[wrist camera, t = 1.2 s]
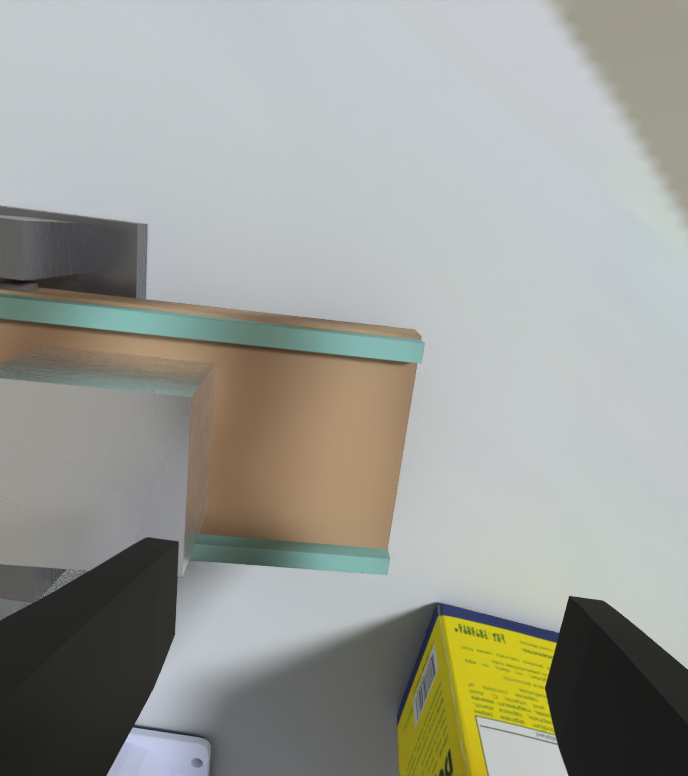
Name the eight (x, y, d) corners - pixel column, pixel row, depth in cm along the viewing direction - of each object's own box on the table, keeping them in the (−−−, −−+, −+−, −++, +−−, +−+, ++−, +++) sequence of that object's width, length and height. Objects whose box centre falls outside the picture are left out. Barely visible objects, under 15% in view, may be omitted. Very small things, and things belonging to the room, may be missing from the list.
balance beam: (415, 323, 18) (426, 333, 16) (379, 552, 20) (385, 582, 18) (-329, 239, 16) (-407, 240, 14) (-278, 501, 18) (-340, 529, 17)
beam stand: (147, 224, 19) (84, 220, 15) (139, 546, 22) (86, 615, 18) (3, 206, 19) (-99, 197, 15) (17, 529, 22) (-64, 594, 18)
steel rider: (207, 512, 18) (182, 577, 15) (47, 499, 18) (-16, 562, 14) (216, 363, 17) (191, 397, 13) (43, 345, 16) (-27, 375, 13)
